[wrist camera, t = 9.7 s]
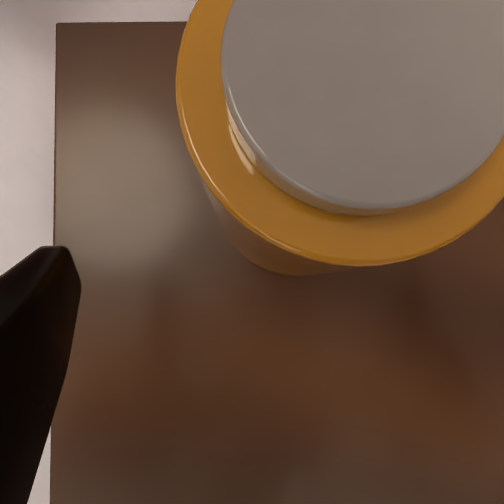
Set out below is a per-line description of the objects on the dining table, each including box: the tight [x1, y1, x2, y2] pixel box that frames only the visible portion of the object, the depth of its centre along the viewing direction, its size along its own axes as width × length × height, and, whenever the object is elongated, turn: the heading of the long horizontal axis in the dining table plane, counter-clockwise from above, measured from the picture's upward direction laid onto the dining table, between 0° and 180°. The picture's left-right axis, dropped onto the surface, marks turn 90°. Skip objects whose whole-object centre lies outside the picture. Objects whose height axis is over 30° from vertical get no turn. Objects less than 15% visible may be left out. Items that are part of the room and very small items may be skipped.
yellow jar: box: [175, 0, 504, 276], centre depth 8 cm, size 5×5×7 cm
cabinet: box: [50, 22, 504, 504], centre depth 16 cm, size 15×13×8 cm
